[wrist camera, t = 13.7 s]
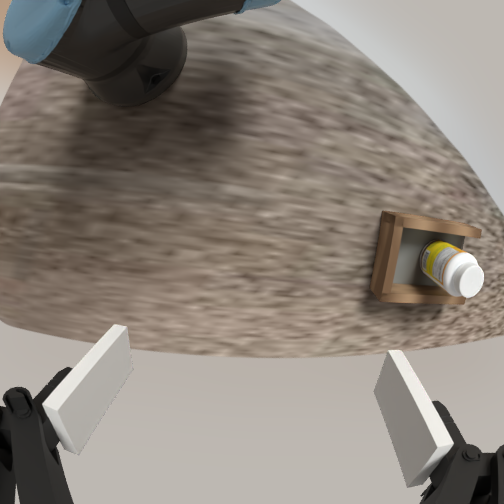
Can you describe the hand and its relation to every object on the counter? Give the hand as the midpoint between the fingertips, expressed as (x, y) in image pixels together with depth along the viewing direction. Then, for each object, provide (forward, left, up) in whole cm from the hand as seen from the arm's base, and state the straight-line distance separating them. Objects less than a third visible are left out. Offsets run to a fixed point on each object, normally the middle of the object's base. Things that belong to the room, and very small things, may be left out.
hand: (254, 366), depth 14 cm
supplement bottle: (0, +24, -26) cm, 35 cm away
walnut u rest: (0, +22, -27) cm, 35 cm away
